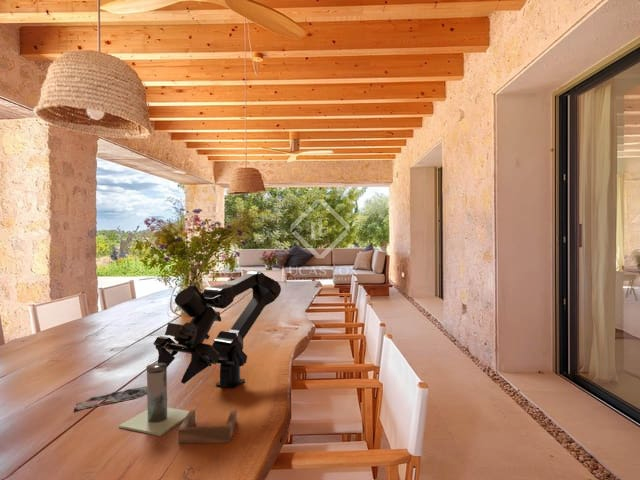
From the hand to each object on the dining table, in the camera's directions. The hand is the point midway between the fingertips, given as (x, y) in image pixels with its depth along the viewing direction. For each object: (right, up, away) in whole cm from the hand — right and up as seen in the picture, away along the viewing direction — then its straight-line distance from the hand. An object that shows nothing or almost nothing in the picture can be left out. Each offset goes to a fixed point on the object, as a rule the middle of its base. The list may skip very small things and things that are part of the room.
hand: (169, 379), depth 108 cm
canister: (-2, -8, -3) cm, 9 cm away
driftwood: (-18, -9, +11) cm, 23 cm away
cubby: (+12, -9, -8) cm, 17 cm away
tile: (-2, -9, -3) cm, 10 cm away
